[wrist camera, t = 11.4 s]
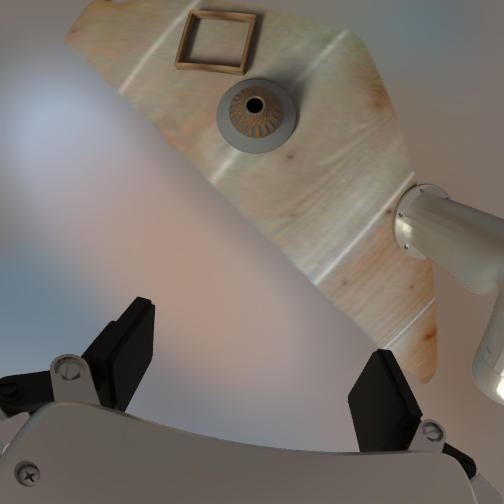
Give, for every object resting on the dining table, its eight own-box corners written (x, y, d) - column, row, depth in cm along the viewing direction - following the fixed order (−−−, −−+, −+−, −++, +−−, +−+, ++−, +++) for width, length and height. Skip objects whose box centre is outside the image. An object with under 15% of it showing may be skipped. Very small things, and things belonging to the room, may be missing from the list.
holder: (256, 20, 33) (256, 14, 31) (243, 75, 36) (242, 71, 34) (193, 16, 32) (189, 10, 30) (178, 69, 36) (174, 65, 34)
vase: (278, 90, 35) (281, 73, 27) (285, 136, 38) (291, 131, 29) (229, 96, 36) (219, 81, 28) (236, 143, 38) (228, 139, 30)
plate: (301, 89, 36) (302, 87, 35) (287, 160, 40) (287, 160, 39) (226, 76, 36) (224, 74, 35) (211, 146, 40) (210, 146, 38)
